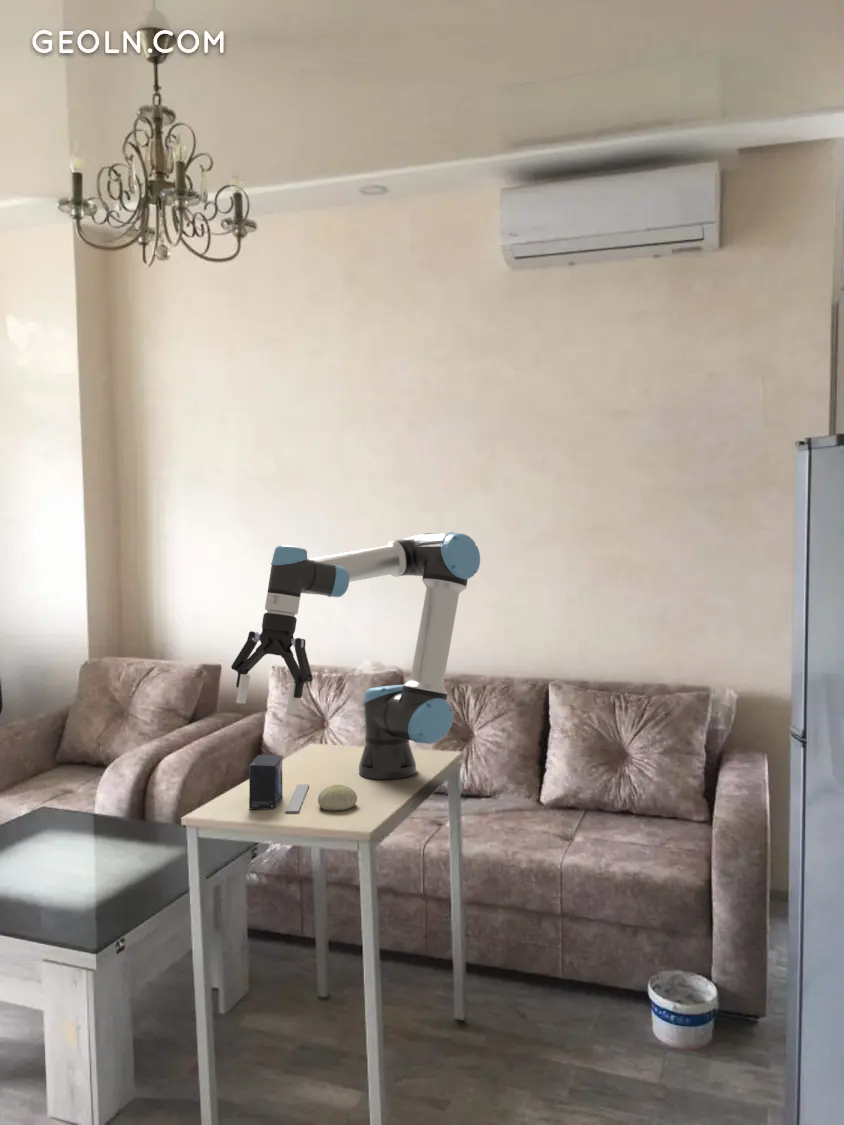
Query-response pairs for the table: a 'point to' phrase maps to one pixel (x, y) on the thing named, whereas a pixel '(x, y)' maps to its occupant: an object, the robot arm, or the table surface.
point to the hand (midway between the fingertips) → (265, 707)
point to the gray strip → (297, 799)
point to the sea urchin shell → (337, 798)
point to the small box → (265, 782)
